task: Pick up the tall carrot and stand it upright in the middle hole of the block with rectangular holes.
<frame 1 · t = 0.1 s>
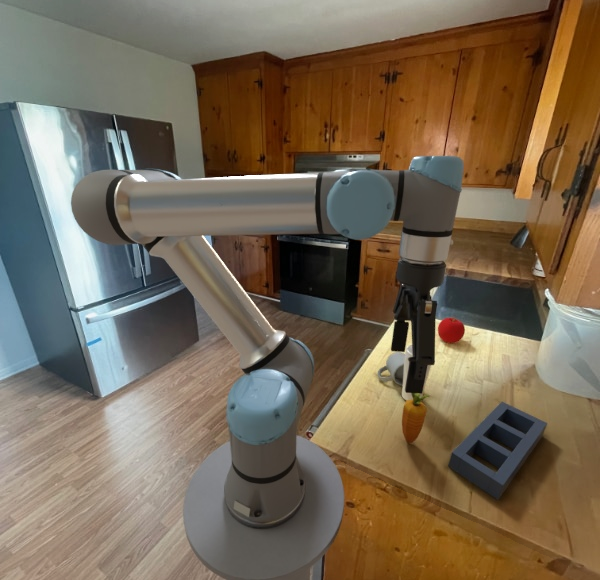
hand: (404, 369, 62), 24 cm above the counter, tool pointing down, fingers open, 13 cm apart
block with rectangular holes: (498, 450, 74), on the counter
drinking glass: (411, 398, 91), on the counter
fruit: (448, 340, 122), on the counter
carrot: (408, 443, 76), on the counter
ceramic mug: (395, 379, 99), on the counter
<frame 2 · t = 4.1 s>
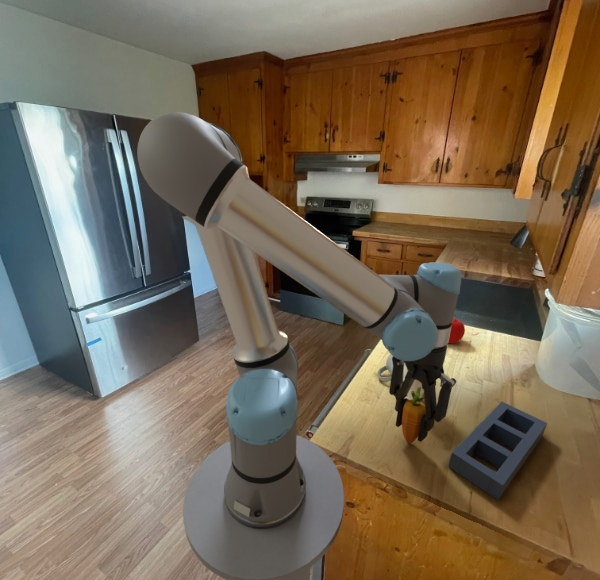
hand: (411, 430, 75), 4 cm above the counter, tool pointing down, fingers closed on carrot, 5 cm apart
carrot: (408, 443, 76), on the counter, touching gripper
everything else where it was.
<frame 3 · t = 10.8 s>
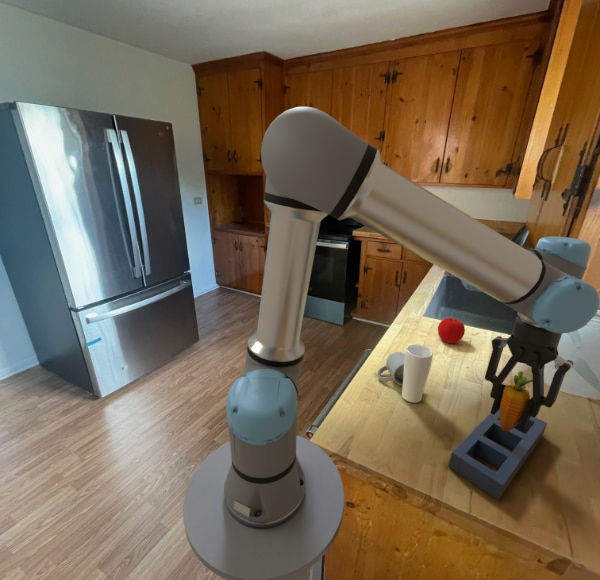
hand: (508, 418, 71), 9 cm above the counter, tool pointing down, fingers closed on carrot, 5 cm apart
carrot: (504, 432, 72), point 5 cm above the counter, touching gripper
everything else where it was.
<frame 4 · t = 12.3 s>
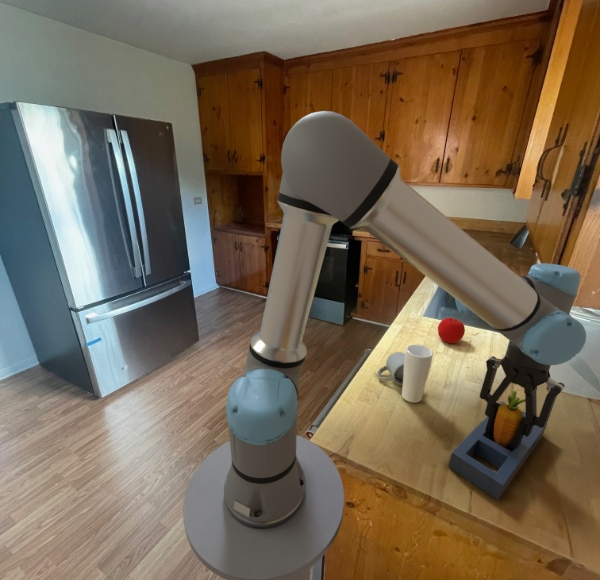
hand: (502, 435, 73), 4 cm above the counter, tool pointing down, fingers closed on carrot, 5 cm apart
carrot: (498, 449, 74), resting in block with rectangular holes, touching gripper
everything else where it was.
when the fingers open (5 cm above the counter, at t = 17.6 s): carrot drops 2 cm, resting in block with rectangular holes.
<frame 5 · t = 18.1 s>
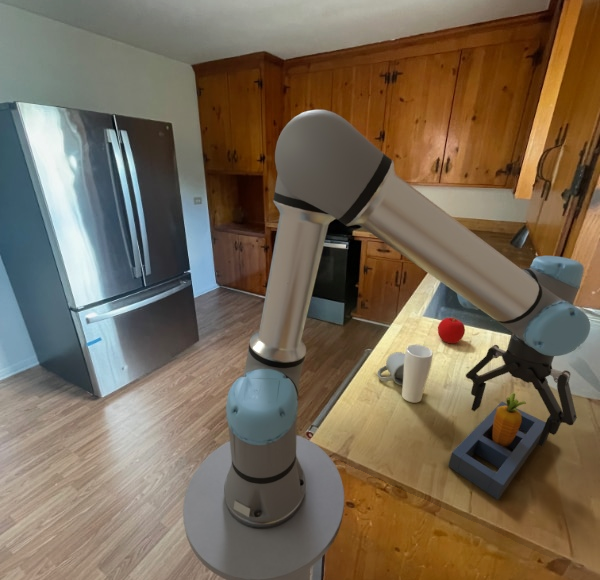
hand: (506, 424, 71), 8 cm above the counter, tool pointing down, fingers open, 13 cm apart
carrot: (497, 451, 74), resting in block with rectangular holes
everything else where it was.
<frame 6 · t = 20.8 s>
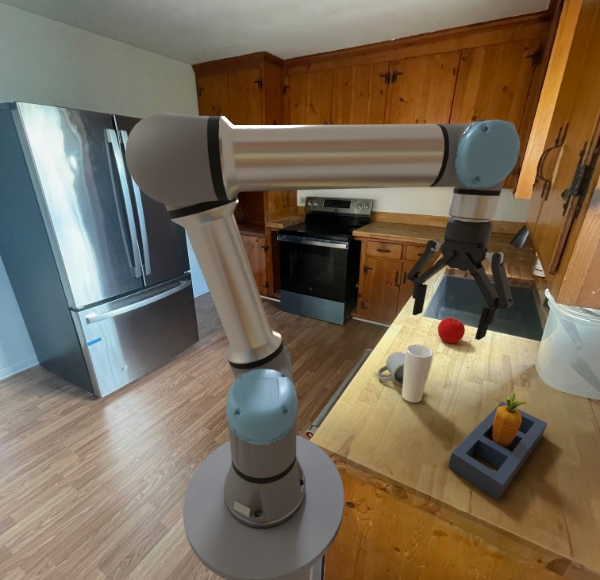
hand: (446, 324, 67), 29 cm above the counter, tool pointing down, fingers open, 13 cm apart
nothing on the counter moved.
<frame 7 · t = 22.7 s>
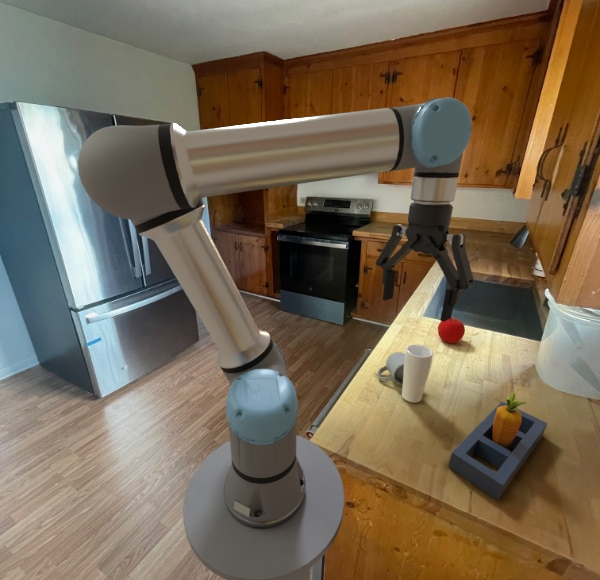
hand: (414, 308, 69), 32 cm above the counter, tool pointing down, fingers open, 13 cm apart
nothing on the counter moved.
at the end: carrot 0.1 cm off-centre in the block with rectangular holes, point 0.0 cm above the block with rectangular holes's base; carrot tilted 0°; the gripper is holding nothing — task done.
